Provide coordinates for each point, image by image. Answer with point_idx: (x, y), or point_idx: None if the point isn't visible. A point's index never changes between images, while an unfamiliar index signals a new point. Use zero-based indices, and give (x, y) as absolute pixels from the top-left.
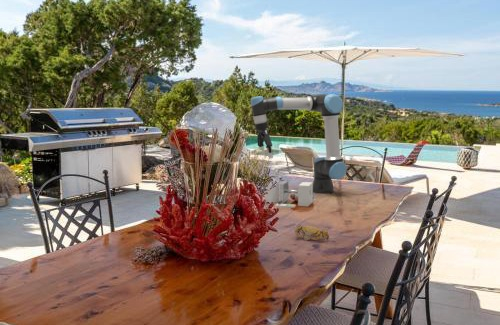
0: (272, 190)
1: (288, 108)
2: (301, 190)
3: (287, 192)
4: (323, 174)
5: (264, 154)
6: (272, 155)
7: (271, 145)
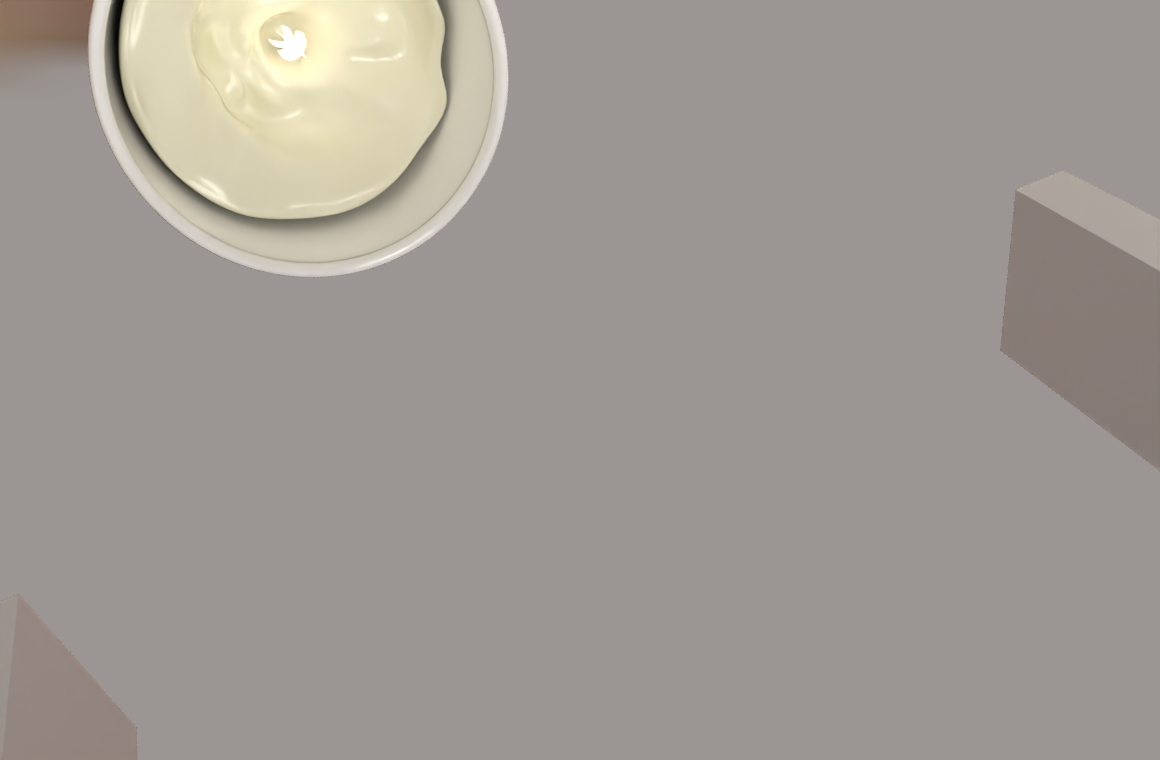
0: (450, 42)
1: None
2: None
3: None
4: None
5: (37, 733)
6: (1153, 227)
7: None
